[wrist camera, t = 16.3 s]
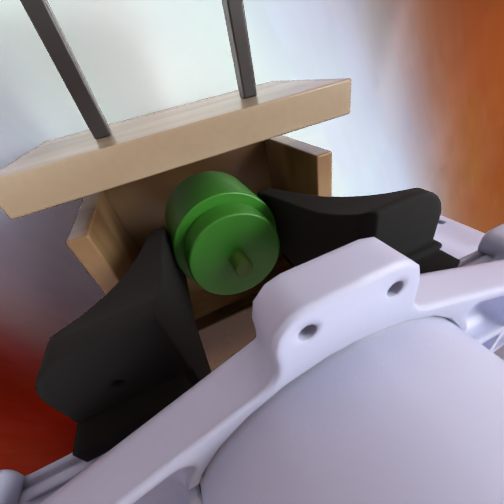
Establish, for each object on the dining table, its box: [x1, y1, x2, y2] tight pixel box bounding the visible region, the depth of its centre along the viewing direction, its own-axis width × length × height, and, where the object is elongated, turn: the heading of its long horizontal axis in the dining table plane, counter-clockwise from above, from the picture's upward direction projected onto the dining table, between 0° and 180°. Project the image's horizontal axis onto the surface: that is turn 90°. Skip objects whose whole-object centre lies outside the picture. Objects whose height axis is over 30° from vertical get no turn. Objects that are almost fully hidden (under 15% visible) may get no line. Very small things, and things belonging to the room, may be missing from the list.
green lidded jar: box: [165, 171, 280, 295], centre depth 11 cm, size 5×5×5 cm
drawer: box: [0, 0, 351, 319], centre depth 13 cm, size 18×12×7 cm
